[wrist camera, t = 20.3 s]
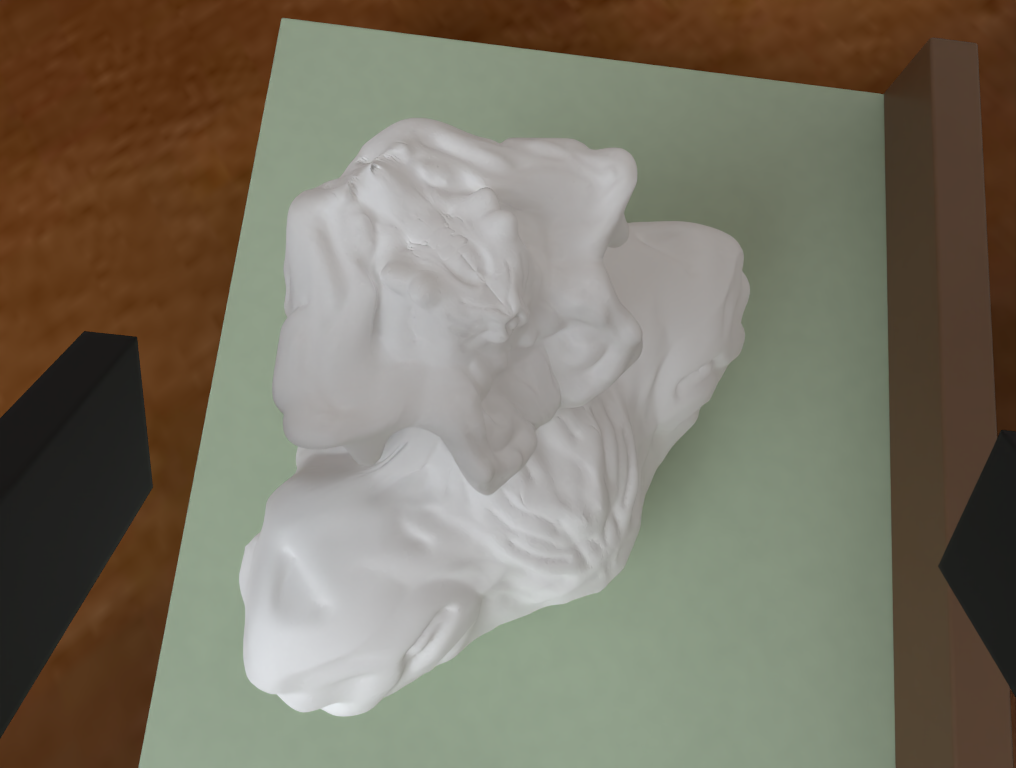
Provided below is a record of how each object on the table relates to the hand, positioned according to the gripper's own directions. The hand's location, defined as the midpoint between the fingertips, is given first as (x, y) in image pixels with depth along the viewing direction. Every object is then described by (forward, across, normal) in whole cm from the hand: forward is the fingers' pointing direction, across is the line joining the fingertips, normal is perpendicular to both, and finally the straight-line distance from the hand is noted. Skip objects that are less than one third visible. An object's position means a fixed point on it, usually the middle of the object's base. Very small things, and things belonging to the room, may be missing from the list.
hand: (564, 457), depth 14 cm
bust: (+5, -1, -4) cm, 7 cm away
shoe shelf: (+9, +1, -8) cm, 12 cm away
